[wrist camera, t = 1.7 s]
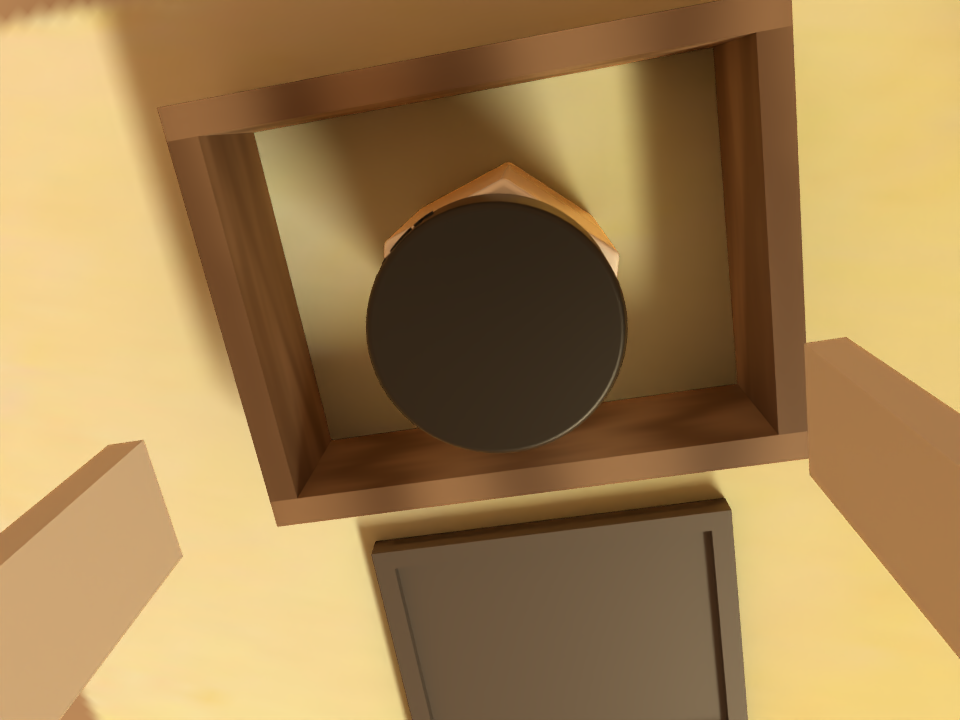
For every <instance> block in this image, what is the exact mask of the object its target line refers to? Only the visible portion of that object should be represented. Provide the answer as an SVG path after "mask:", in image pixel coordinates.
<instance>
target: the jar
mask: <svg viewBox="0 0 960 720" xmlns="http://www.w3.org/2000/svg"><path fill="white" fill-rule="evenodd" d="M618 264H619V253H618V252H617V250H616V249H615V247H614V246H613V244H612V243H611V242H610V240H609V239H608V237H607V236H606V235H605V233H604V232H603V230H602V229H601V227H600V226H599V225H598V223H597V222H596V220H595V219H594V217H593V216H592V215H590V214H589V213H587V212H586V211H584V210H583V209H581V208H580V207H578V206H577V205H575V204H574V203H572V202H571V201H569V200H568V199H566V198H564V197H563V196H561V195H560V194H558V193H557V192H555V191H554V190H552V189H551V188H549V187H548V186H546V185H545V184H543V183H542V182H540V181H539V180H537V179H536V178H534V177H532V176H531V175H529V174H528V173H526V172H525V171H523V170H522V169H520V168H519V167H517V166H516V165H514V164H513V163H511V162H506V163H504V164H502V165H500V166H499V167H497V168H495V169H493V170H491V171H489V172H487V173H486V174H484V175H482V176H480V177H478V178H476V179H474V180H473V181H471V182H469V183H467V184H465V185H463V186H461V187H460V188H458V189H456V190H454V191H452V192H450V193H449V194H447V195H445V196H443V197H441V198H439V199H437V200H436V201H434V202H432V203H430V204H428V205H426V206H424V207H423V208H421V209H420V210H419V211H418V212H417V213H416V214H415V215H413V216H412V217H411V218H410V219H409V220H408V221H407V222H406V223H405V224H404V225H403V226H402V227H401V228H399V229H398V230H397V231H396V232H395V233H394V234H393V235H392V236H391V237H390V238H389V239H388V240H387V241H386V242H385V244H384V261H383V263H382V266H381V268H380V270H379V272H378V274H377V276H376V278H375V281H374V284H373V287H372V290H371V294H370V298H369V302H368V308H367V316H366V335H367V344H368V350H369V355H370V358H371V362H372V365H373V368H374V371H375V373H376V376H377V378H378V380H379V382H380V384H381V386H382V388H383V389H384V391H385V392H386V394H387V396H388V397H389V398H390V400H391V401H392V402H393V404H394V405H395V406H396V407H397V408H398V409H399V411H400V412H401V413H402V414H403V415H404V416H405V417H406V418H407V419H409V420H410V421H411V422H412V423H413V424H415V425H416V426H417V427H419V428H420V429H421V430H423V431H424V432H426V433H428V434H429V435H431V436H432V437H434V438H436V439H438V440H440V441H443V442H445V443H447V444H450V445H453V446H455V447H459V448H462V449H466V450H471V451H476V452H484V453H512V452H519V451H525V450H529V449H533V448H537V447H540V446H543V445H545V444H548V443H551V442H553V441H555V440H557V439H559V438H561V437H563V436H564V435H566V434H568V433H569V432H571V431H573V430H574V429H575V428H577V427H578V426H579V425H581V424H582V423H583V422H584V421H585V420H586V419H588V418H589V417H590V416H591V415H592V414H593V413H594V412H595V410H596V409H597V408H598V407H599V406H600V405H601V403H602V402H603V401H604V399H605V398H606V396H607V395H608V393H609V392H610V390H611V388H612V387H613V385H614V383H615V381H616V378H617V376H618V374H619V371H620V368H621V366H622V362H623V359H624V355H625V350H626V343H627V329H628V328H627V313H626V306H625V301H624V297H623V293H622V290H621V287H620V284H619V282H618V280H617V274H618Z"/></svg>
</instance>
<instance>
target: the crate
mask: <svg viewBox="0 0 960 720" xmlns="http://www.w3.org/2000/svg"><path fill="white" fill-rule="evenodd" d="M708 48H713V52H714V66H715V80H716V94H717V108H718V122H719V136H720V150H721V164H722V177H723V191H724V205H725V219H726V233H727V247H728V261H729V275H730V289H731V303H732V316H733V330H734V344H735V358H736V372H737V384H731V385H724V386H717V387H710V388H703V389H696V390H688V391H681V392H674V393H667V394H660V395H653V396H645V397H638V398H631V399H624V400H617V401H610V402H602V403H601V405H600V406H599V407H598V408H597V409H596V410H595V412H594V413H593V414H592V415H591V416H590V417H589V418H588V419H586V420H585V421H584V422H583V423H582V424H581V425H579V426H578V427H577V428H575V429H574V430H573V431H571V432H569V433H568V434H566V435H564V436H563V437H561V438H559V439H557V440H555V441H553V442H551V443H548V444H545V445H543V446H540V447H537V448H533V449H529V450H525V451H519V452H512V453H484V452H476V451H471V450H466V449H462V448H459V447H455V446H453V445H450V444H447V443H445V442H443V441H440V440H438V439H436V438H434V437H432V436H431V435H429V434H428V433H426V432H424V431H423V430H421V429H420V428H416V429H409V430H402V431H395V432H388V433H380V434H373V435H366V436H359V437H352V438H345V439H337V440H331V438H330V434H329V430H328V426H327V422H326V418H325V414H324V410H323V406H322V402H321V398H320V394H319V390H318V386H317V382H316V378H315V374H314V370H313V366H312V362H311V358H310V354H309V350H308V346H307V342H306V338H305V335H304V331H303V327H302V323H301V319H300V315H299V311H298V307H297V303H296V299H295V295H294V291H293V287H292V283H291V279H290V275H289V271H288V267H287V263H286V259H285V255H284V251H283V247H282V243H281V239H280V235H279V232H278V228H277V224H276V220H275V216H274V212H273V208H272V204H271V200H270V196H269V192H268V188H267V184H266V180H265V176H264V172H263V168H262V164H261V160H260V156H259V152H258V148H257V144H256V140H255V136H254V133H253V132H259V131H264V130H270V129H275V128H281V127H286V126H291V125H297V124H302V123H308V122H313V121H318V120H324V119H329V118H335V117H340V116H345V115H351V114H356V113H362V112H367V111H372V110H378V109H383V108H389V107H394V106H399V105H405V104H410V103H416V102H421V101H426V100H432V99H437V98H443V97H448V96H454V95H459V94H464V93H470V92H475V91H481V90H486V89H491V88H497V87H502V86H508V85H513V84H518V83H524V82H529V81H535V80H540V79H545V78H551V77H556V76H562V75H567V74H572V73H578V72H583V71H589V70H594V69H599V68H605V67H610V66H616V65H621V64H627V63H632V62H637V61H643V60H648V59H654V58H659V57H664V56H670V55H675V54H681V53H686V52H691V51H697V50H702V49H708ZM157 109H158V112H159V116H160V119H161V123H162V126H163V130H164V133H165V137H166V140H167V144H168V147H169V151H170V154H171V158H172V161H173V165H174V168H175V172H176V175H177V179H178V182H179V186H180V189H181V193H182V196H183V200H184V203H185V207H186V210H187V213H188V217H189V220H190V224H191V227H192V231H193V234H194V238H195V241H196V245H197V248H198V252H199V255H200V259H201V262H202V266H203V269H204V273H205V276H206V280H207V283H208V287H209V290H210V294H211V297H212V301H213V304H214V308H215V311H216V315H217V318H218V321H219V325H220V328H221V332H222V335H223V339H224V342H225V346H226V349H227V353H228V356H229V360H230V363H231V367H232V370H233V374H234V377H235V381H236V384H237V388H238V391H239V395H240V398H241V402H242V405H243V409H244V412H245V416H246V419H247V423H248V426H249V429H250V433H251V436H252V440H253V443H254V447H255V450H256V454H257V457H258V461H259V464H260V468H261V471H262V475H263V478H264V482H265V485H266V489H267V492H268V496H269V499H270V503H271V506H272V510H273V513H274V517H275V520H276V524H277V527H278V526H286V525H294V524H302V523H309V522H317V521H325V520H333V519H341V518H348V517H356V516H364V515H372V514H380V513H387V512H395V511H403V510H411V509H419V508H426V507H434V506H442V505H450V504H457V503H465V502H473V501H481V500H489V499H496V498H504V497H512V496H520V495H528V494H535V493H543V492H551V491H559V490H567V489H574V488H582V487H590V486H598V485H605V484H613V483H621V482H629V481H637V480H644V479H652V478H660V477H668V476H676V475H683V474H691V473H699V472H707V471H715V470H722V469H730V468H738V467H746V466H753V465H761V464H769V463H777V462H785V461H792V460H800V459H808V458H809V448H808V424H807V400H806V376H805V352H804V343H806V331H805V307H804V284H803V260H802V236H801V212H800V188H799V164H798V140H797V116H796V92H795V68H794V44H793V20H792V0H719V1H714V2H709V3H704V4H699V5H693V6H688V7H683V8H678V9H672V10H667V11H662V12H657V13H651V14H646V15H641V16H636V17H631V18H625V19H620V20H615V21H610V22H604V23H599V24H594V25H589V26H583V27H578V28H573V29H568V30H562V31H557V32H552V33H547V34H542V35H536V36H531V37H526V38H521V39H515V40H510V41H505V42H500V43H494V44H489V45H484V46H479V47H474V48H468V49H463V50H458V51H453V52H447V53H442V54H437V55H432V56H426V57H421V58H416V59H411V60H405V61H400V62H395V63H390V64H385V65H379V66H374V67H369V68H364V69H358V70H353V71H348V72H343V73H337V74H332V75H327V76H322V77H317V78H311V79H306V80H301V81H296V82H290V83H285V84H280V85H275V86H269V87H264V88H259V89H254V90H248V91H243V92H238V93H233V94H228V95H222V96H217V97H212V98H207V99H201V100H196V101H191V102H186V103H180V104H175V105H170V106H165V107H160V108H157Z"/></svg>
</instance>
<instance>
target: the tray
mask: <svg viewBox="0 0 960 720" xmlns="http://www.w3.org/2000/svg"><path fill="white" fill-rule="evenodd" d="M371 555H372V559H373V563H374V567H375V571H376V575H377V579H378V583H379V587H380V591H381V595H382V599H383V603H384V607H385V611H386V615H387V619H388V623H389V627H390V631H391V635H392V639H393V644H394V648H395V652H396V656H397V660H398V664H399V668H400V672H401V676H402V680H403V684H404V688H405V692H406V696H407V700H408V704H409V708H410V712H411V716H412V720H748V715H747V702H746V689H745V677H744V664H743V651H742V638H741V626H740V613H739V600H738V588H737V575H736V562H735V550H734V537H733V524H732V512H731V508H730V507H729V505H728V503H727V501H726V499H725V498H722V499H714V500H706V501H698V502H690V503H682V504H674V505H665V506H657V507H649V508H641V509H633V510H625V511H617V512H609V513H601V514H593V515H585V516H577V517H569V518H561V519H553V520H545V521H537V522H529V523H521V524H513V525H505V526H497V527H489V528H481V529H473V530H465V531H457V532H449V533H441V534H433V535H425V536H417V537H408V538H400V539H392V540H384V541H376V542H375V545H374V548H373V551H372V554H371Z"/></svg>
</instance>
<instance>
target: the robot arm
mask: <svg viewBox="0 0 960 720" xmlns="http://www.w3.org/2000/svg"><path fill="white" fill-rule="evenodd" d="M804 352H805V376H806V400H807V424H808V448H809V472H810V476H811V477H812V478H813V480H814V481H815V482H816V483H817V484H818V486H819V487H820V488H821V489H822V491H823V492H824V493H825V494H826V495H827V497H828V498H829V499H830V500H831V502H832V503H833V504H834V505H835V506H836V508H837V509H838V510H839V511H840V513H841V514H842V515H843V516H844V517H845V519H846V520H847V521H848V522H849V524H850V525H851V526H852V527H853V529H854V530H855V531H856V532H857V533H858V535H859V536H860V537H861V538H862V540H863V541H864V542H865V543H866V544H867V546H868V547H869V548H870V549H871V551H872V552H873V553H874V554H875V555H876V557H877V558H878V559H879V560H880V562H881V563H882V564H883V565H884V566H885V568H886V569H887V570H888V571H889V573H890V574H891V575H892V576H893V578H894V579H895V580H896V581H897V582H898V584H899V585H900V586H901V587H902V589H903V590H904V591H905V592H906V593H907V595H908V596H909V597H910V598H911V600H912V601H913V602H914V603H915V604H916V606H917V607H918V608H919V609H920V611H921V612H922V613H923V614H924V615H925V617H926V618H927V619H928V620H929V622H930V623H931V624H932V625H933V627H934V628H935V629H936V630H937V631H938V633H939V634H940V635H941V636H942V638H943V639H944V640H945V641H946V642H947V644H948V645H949V646H950V647H951V649H952V650H953V651H954V652H955V653H956V655H957V656H958V657H959V658H960V413H958V412H957V411H955V410H954V409H952V408H951V407H949V406H948V405H946V404H945V403H943V402H942V401H940V400H939V399H937V398H936V397H934V396H933V395H931V394H930V393H928V392H927V391H925V390H924V389H922V388H921V387H919V386H918V385H917V384H915V383H914V382H912V381H911V380H909V379H908V378H906V377H905V376H903V375H902V374H900V373H899V372H897V371H896V370H894V369H893V368H891V367H890V366H888V365H887V364H885V363H884V362H882V361H881V360H879V359H878V358H876V357H875V356H874V355H872V354H871V353H869V352H868V351H866V350H865V349H863V348H862V347H860V346H859V345H857V344H856V343H854V342H853V341H851V340H850V339H848V338H847V337H844V338H837V339H830V340H824V341H817V342H810V343H804ZM182 557H183V555H182V552H181V549H180V546H179V543H178V540H177V537H176V534H175V531H174V528H173V525H172V522H171V519H170V516H169V514H168V511H167V508H166V505H165V502H164V499H163V496H162V493H161V490H160V487H159V484H158V481H157V478H156V475H155V472H154V469H153V466H152V463H151V460H150V457H149V454H148V451H147V448H146V445H145V442H144V440H140V441H133V442H126V443H119V444H112V445H108V446H107V447H105V448H104V449H103V450H102V451H101V452H99V453H98V454H97V455H96V456H94V457H93V458H92V459H91V460H90V461H88V462H87V463H86V464H85V465H83V466H82V467H81V468H80V469H78V470H77V471H76V472H75V473H74V474H72V475H71V476H70V477H69V478H67V479H66V480H65V481H64V482H63V483H61V484H60V485H59V486H58V487H56V488H55V489H54V490H53V491H51V492H50V493H49V494H48V495H47V496H45V497H44V498H43V499H42V500H40V501H39V502H38V503H37V504H36V505H34V506H33V507H32V508H31V509H29V510H28V511H27V512H26V513H24V514H23V515H22V516H21V517H20V518H18V519H17V520H16V521H15V522H13V523H12V524H11V525H10V526H9V527H7V528H6V529H5V530H4V531H2V532H1V533H0V720H60V719H61V718H62V717H63V715H64V714H65V712H66V711H67V710H68V708H69V707H70V706H71V704H72V703H73V702H74V701H75V699H76V698H77V697H78V695H79V694H80V693H81V691H82V690H83V689H84V687H85V686H86V685H87V683H88V682H89V681H90V679H91V678H92V677H93V675H94V674H95V673H96V671H97V670H98V669H99V667H100V666H101V665H102V663H103V662H104V661H105V659H106V658H107V657H108V655H109V654H110V653H111V651H112V650H113V649H114V647H115V646H116V645H117V643H118V642H119V641H120V639H121V638H122V637H123V635H124V634H125V633H126V631H127V630H128V629H129V627H130V626H131V625H132V623H133V622H134V621H135V619H136V618H137V617H138V615H139V614H140V613H141V611H142V610H143V609H144V607H145V606H146V605H147V603H148V602H149V601H150V599H151V598H152V597H153V595H154V594H155V593H156V591H157V590H158V589H159V587H160V586H161V585H162V583H163V582H164V581H165V579H166V578H167V577H168V575H169V574H170V573H171V571H172V570H173V569H174V567H175V566H176V565H177V563H178V562H179V561H180V559H181V558H182Z"/></svg>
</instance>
